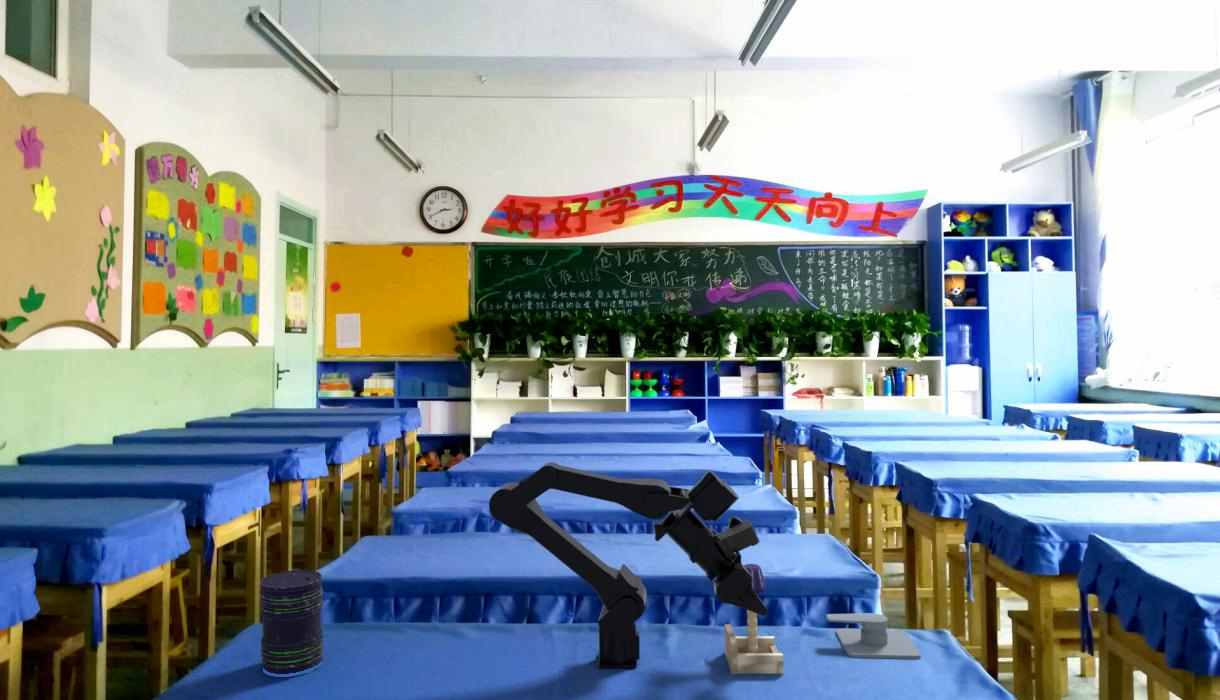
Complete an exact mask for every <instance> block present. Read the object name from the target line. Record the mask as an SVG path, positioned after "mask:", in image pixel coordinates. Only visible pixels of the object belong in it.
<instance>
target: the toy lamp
mask: <svg viewBox="0 0 1220 700" xmlns="http://www.w3.org/2000/svg"><path fill="white" fill-rule="evenodd" d="M743 565H744V564H743ZM744 566H745V567H746V569H747V570H748V571H749V572H750V573H751V575H752V578H753V581H752V588H753V590H754V591H755V593H756V594H757V593H759V594H761V593H764V592H766V590H767V584H766V582H765V579H764V578H765V577H764V574H763V571H762V568H761V566H760V565H759V564H756V563H746V564H745V565H744ZM746 615H747V618H746V619H747V620H746V623H747V629H746V630H747V632H746V633H747V634H748V635H747V636H748V643H749V645H748V652H746V653H758V645H757V643H758V637H757V636H758V633H759V632H758V631H759V630H758V629H759V628H758V617H757V616H758V614H757V613H754V612H752V611H749V610H746Z"/></svg>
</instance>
